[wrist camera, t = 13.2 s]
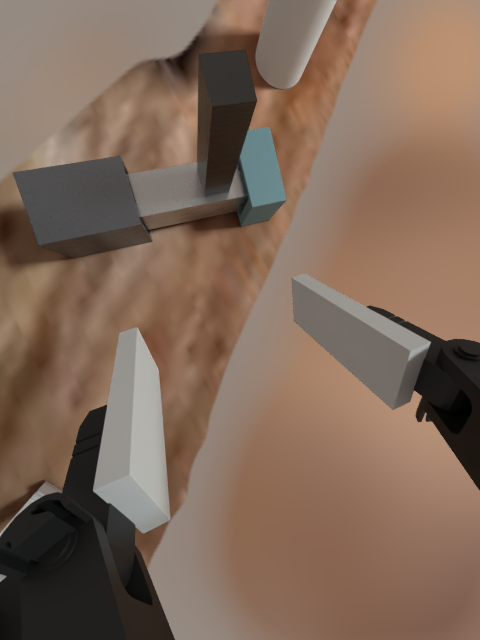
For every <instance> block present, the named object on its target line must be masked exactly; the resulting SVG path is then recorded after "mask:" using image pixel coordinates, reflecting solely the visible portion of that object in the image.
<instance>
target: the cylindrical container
mask: <svg viewBox="0 0 480 640" xmlns="http://www.w3.org/2000/svg"><path fill="white" fill-rule="evenodd" d="M336 1H337V0H268V3H267V8H266V12H265V16H264V20H263V24H262V28H261V32H260V36H259V40H258V44H257V49H256V54H255V60H256V66H257V69H258V71H259V73H260V75H261V77H262V78H263V79H264V80H265V81H266V82H267V83H268V84H269V85H271V86H273V87H275V88H278V89H288V88H291V87H293V86H294V85H295V84H296V83H297V82H298V81H299V79H300V78H301V76H302V73H303V71H304V69H305V67H306V65H307V63H308V61H309V58H310V56H311V54H312V52H313V50H314V48H315V46H316V43H317V41H318V39H319V37H320V35H321V33H322V31H323V28H324V26H325V24H326V22H327V20H328V18H329V16H330V13H331V11H332V9H333V7H334V5H335V3H336Z"/></svg>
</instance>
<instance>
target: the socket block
mask: <svg viewBox="0 0 480 640" xmlns="http://www.w3.org/2000/svg"><path fill="white" fill-rule="evenodd" d="M239 162H240V166H241V170H242V174H243V178H244V182H245V186H246V190H247V194H248V198H249V199H248V201H247V203H246V205H245V207H244V209H243V210H241V211H237V214H238V218H239V222H240V225H241V226H246V225H250V224H255V223H259V222H264V221H268V220H269V219H270V218H271V217H272V216H273V215H274V214H275V212H276V211H277V210H278V209H279V208H280V207H281V206H282V205H283V203H284V202H285V201H286V196H285V191H284V187H283V183H282V178H281V174H280V170H279V165H278V161H277V157H276V152H275V148H274V143H273V139H272V135H271V130H270V127H267V128H260V129H253V130H248V132H247V135H246V138H245V142H244V145H243V148H242V151H241V155H240V158H239Z"/></svg>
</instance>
